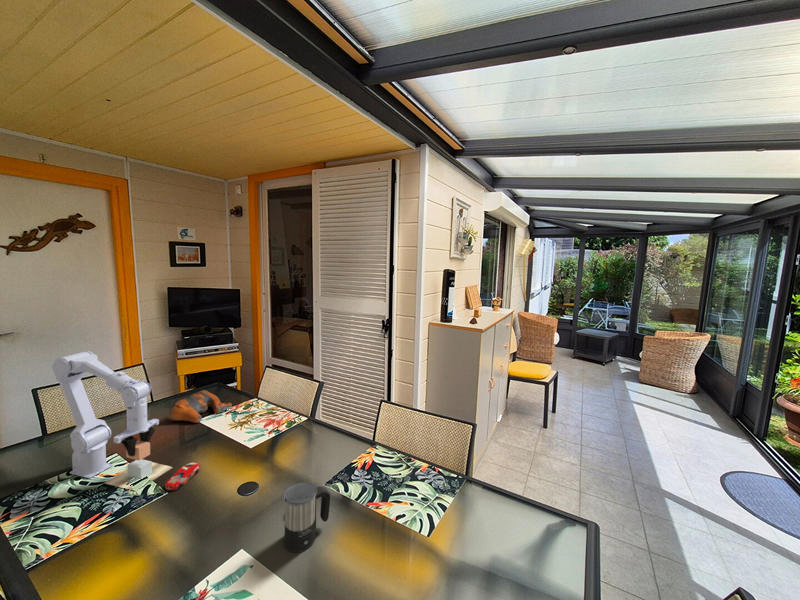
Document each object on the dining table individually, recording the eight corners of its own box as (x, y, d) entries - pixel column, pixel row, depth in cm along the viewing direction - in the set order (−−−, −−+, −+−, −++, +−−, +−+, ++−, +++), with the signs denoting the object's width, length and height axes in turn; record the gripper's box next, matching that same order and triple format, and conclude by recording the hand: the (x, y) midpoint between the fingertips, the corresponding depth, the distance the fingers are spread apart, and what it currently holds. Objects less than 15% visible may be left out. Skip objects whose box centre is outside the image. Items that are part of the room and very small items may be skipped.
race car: (175, 493, 112) (174, 482, 111) (160, 491, 113) (160, 480, 112) (203, 470, 125) (203, 460, 124) (190, 468, 126) (190, 458, 125)
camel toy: (162, 421, 156) (191, 433, 152) (171, 393, 158) (200, 404, 153) (204, 412, 180) (229, 422, 176) (211, 388, 182) (237, 397, 177)
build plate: (104, 483, 114) (104, 482, 114) (143, 460, 128) (143, 460, 128) (135, 491, 111) (135, 491, 111) (172, 467, 125) (172, 467, 125)
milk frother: (296, 559, 90) (298, 509, 88) (262, 531, 98) (262, 485, 97) (333, 526, 102) (335, 481, 100) (299, 503, 110) (301, 462, 109)
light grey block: (128, 476, 118) (127, 464, 118) (139, 469, 122) (138, 458, 122) (141, 479, 117) (140, 467, 116) (151, 472, 121) (151, 461, 120)
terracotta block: (126, 457, 117) (125, 445, 116) (137, 451, 121) (137, 439, 120) (139, 460, 115) (138, 448, 115) (150, 454, 119) (150, 442, 119)
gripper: (124, 427, 109) (125, 465, 110) (165, 409, 123) (165, 443, 124) (108, 423, 110) (109, 461, 112) (150, 406, 124) (150, 440, 126)
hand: (138, 452), depth 118 cm, fingers closed on terracotta block, 4 cm apart
